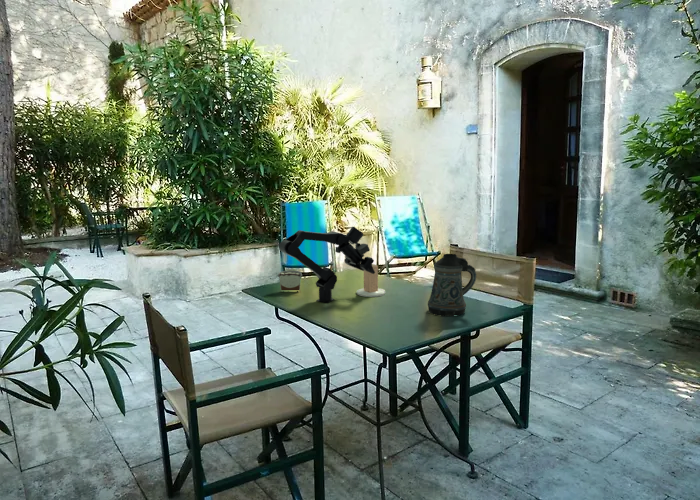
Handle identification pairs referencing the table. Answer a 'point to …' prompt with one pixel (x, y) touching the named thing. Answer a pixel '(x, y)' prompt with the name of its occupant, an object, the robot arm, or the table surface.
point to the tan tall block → (371, 280)
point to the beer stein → (450, 286)
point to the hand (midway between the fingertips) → (369, 271)
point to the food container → (290, 280)
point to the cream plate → (372, 294)
